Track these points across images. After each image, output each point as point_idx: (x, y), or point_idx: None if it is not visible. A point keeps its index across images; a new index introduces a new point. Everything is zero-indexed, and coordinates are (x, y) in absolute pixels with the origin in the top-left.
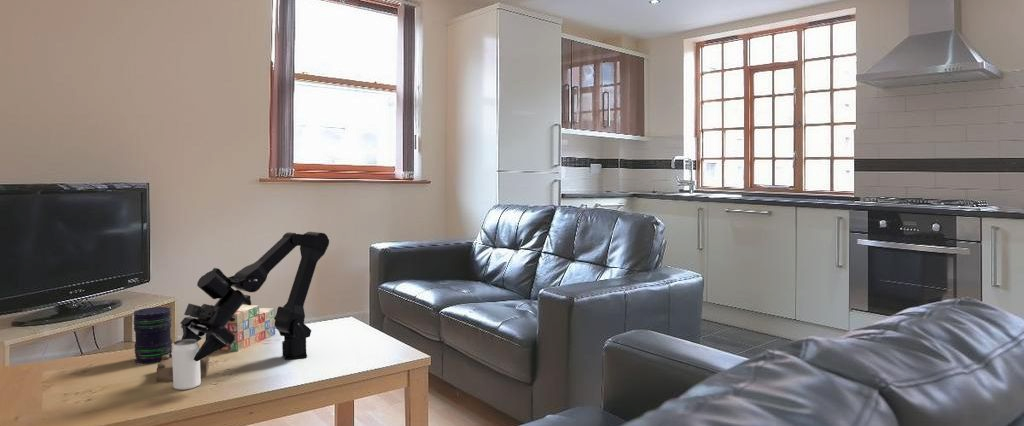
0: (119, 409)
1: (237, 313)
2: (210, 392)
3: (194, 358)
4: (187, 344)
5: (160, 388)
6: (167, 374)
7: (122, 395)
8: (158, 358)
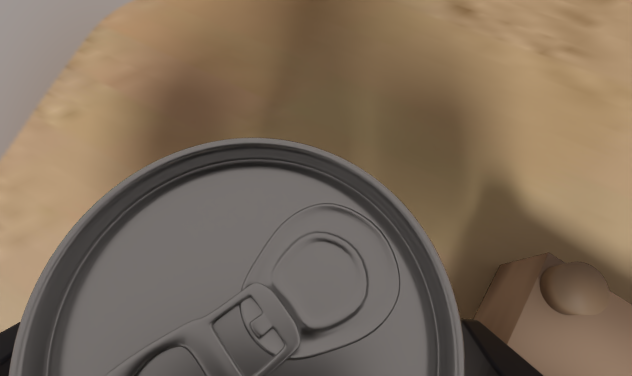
0: (255, 13)
1: None
2: None
3: None
4: (55, 254)
5: None
6: (495, 309)
7: (412, 85)
8: None
